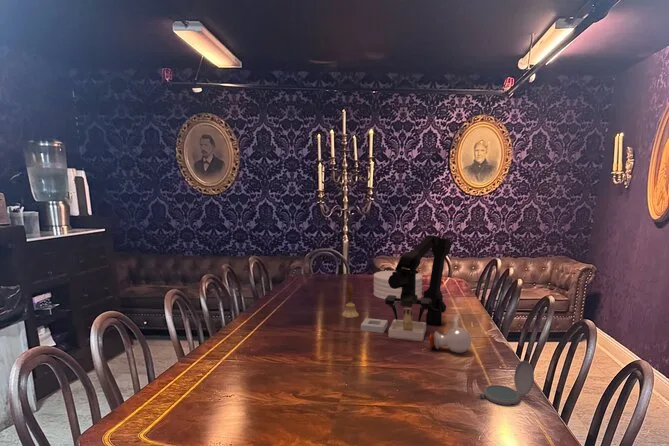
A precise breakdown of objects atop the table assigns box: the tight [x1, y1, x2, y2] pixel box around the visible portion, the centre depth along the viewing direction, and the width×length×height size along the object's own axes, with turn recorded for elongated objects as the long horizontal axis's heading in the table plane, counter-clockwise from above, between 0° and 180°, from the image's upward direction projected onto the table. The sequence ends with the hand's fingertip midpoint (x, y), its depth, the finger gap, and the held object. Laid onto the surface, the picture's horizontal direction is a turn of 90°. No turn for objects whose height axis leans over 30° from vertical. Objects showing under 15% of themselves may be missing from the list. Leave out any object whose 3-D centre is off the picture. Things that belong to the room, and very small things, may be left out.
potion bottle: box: [429, 326, 472, 354], centre depth 158 cm, size 9×10×15 cm
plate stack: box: [373, 270, 423, 300], centre depth 243 cm, size 28×28×12 cm
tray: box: [388, 318, 427, 342], centre depth 176 cm, size 14×14×4 cm
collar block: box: [360, 317, 388, 334], centre depth 184 cm, size 10×10×2 cm
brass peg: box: [402, 307, 414, 331], centre depth 176 cm, size 4×4×10 cm
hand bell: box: [341, 282, 359, 319], centre depth 202 cm, size 8×8×16 cm
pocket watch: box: [476, 360, 535, 406], centre depth 122 cm, size 10×11×15 cm
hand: (407, 321), depth 176 cm, fingers open, 9 cm apart
